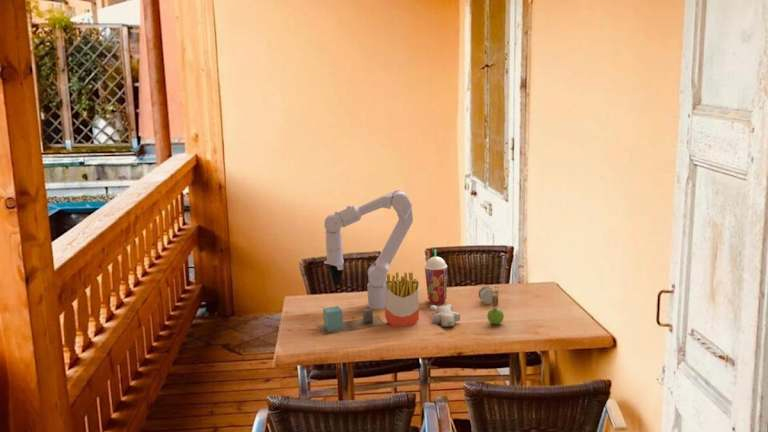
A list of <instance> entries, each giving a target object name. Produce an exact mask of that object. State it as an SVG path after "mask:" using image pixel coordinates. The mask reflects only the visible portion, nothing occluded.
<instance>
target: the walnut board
mask: <svg viewBox="0 0 768 432" xmlns="http://www.w3.org/2000/svg"><path fill="white" fill-rule="evenodd" d="M383 326H388V323H386V322H384V320H382V319H381V318H380V317H379V316H377V315H376V316H373V323H371V324H365V323H364V322H363V318H358V319H352V320H351V319H350V320H346V321H343V330H337V331H330V332H328V331H327V330H326V328H325V327H324V324H321V325H316V326H315V327H316V328H317V330H318V331H319V332H320V333H321V335H322V336H329V335H334V334H340V333H345V332H352V331H357V330H365V329H370V328H375V327H376V328H377V327H383Z"/></svg>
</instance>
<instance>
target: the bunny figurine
mask: <svg viewBox="0 0 768 432" xmlns="http://www.w3.org/2000/svg"><path fill="white" fill-rule="evenodd" d="M452 309H453V306H452V304H451V303H446V304H445V305H440V306H437V304H431V305H430V308H429V310H430V311H432V312H434V313H435V314H433V315H432V316H431V319H432V320H431V321H432V323H433V324H440V325H441V328H446V327H447V328H448V327H455V326H456V324H455V323H456V322H459V321H461V313H460V312H456V311H452Z"/></svg>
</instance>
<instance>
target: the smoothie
mask: <svg viewBox="0 0 768 432" xmlns="http://www.w3.org/2000/svg"><path fill="white" fill-rule="evenodd" d="M433 251H434V253H433V254H434V256H432V257H430V258H429V259H428V260H426V262H425V265H424V273H425V283H426V294H427V300H428V301H429V303H430V304H431V305H441V304H445V302H446V300H447V290H448V289H447V288H448V287H447V285H448V284H447V283H448V265H447V264H446V261H445V259H443V258H442V257H440V256H437V249H436V248H435V249H434V250H433Z"/></svg>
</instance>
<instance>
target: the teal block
mask: <svg viewBox="0 0 768 432" xmlns="http://www.w3.org/2000/svg"><path fill="white" fill-rule="evenodd" d="M322 313H323V325H324V327H325V328H326V330H327V331H328V332H330V331H337V330H343V322H344V319H343V309H342V308H341V307H339V305H337V306H336V305H335V306H330V307H324V308H322Z"/></svg>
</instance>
